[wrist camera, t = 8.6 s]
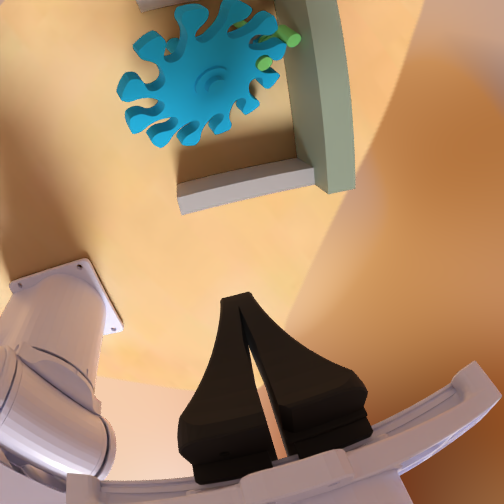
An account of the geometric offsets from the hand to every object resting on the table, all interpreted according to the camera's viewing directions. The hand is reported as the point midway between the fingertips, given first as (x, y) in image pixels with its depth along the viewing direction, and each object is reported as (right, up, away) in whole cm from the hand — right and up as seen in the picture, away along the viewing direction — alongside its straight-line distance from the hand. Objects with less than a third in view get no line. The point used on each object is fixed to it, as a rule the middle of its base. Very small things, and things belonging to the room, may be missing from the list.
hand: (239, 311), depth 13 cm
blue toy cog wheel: (-2, +14, +4) cm, 15 cm away
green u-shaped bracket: (0, +14, +4) cm, 15 cm away
